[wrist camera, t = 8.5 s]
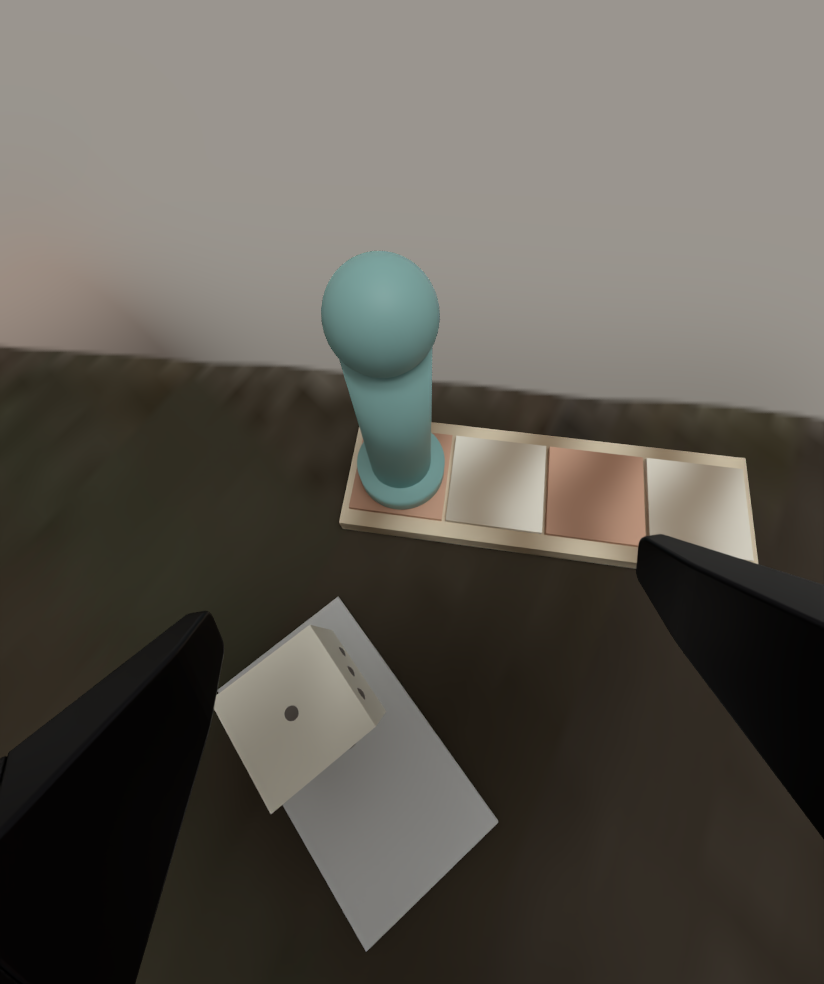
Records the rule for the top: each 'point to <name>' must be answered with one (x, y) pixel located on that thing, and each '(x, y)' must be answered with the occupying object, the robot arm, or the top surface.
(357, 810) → the mat
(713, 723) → the top surface
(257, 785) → the die
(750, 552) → the board
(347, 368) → the pawn
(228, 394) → the top surface
